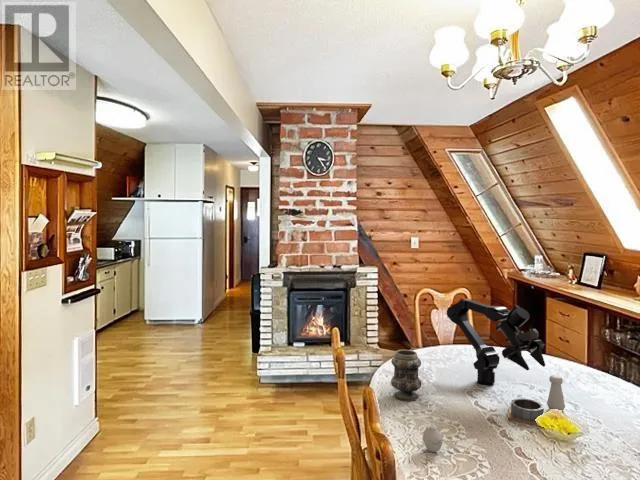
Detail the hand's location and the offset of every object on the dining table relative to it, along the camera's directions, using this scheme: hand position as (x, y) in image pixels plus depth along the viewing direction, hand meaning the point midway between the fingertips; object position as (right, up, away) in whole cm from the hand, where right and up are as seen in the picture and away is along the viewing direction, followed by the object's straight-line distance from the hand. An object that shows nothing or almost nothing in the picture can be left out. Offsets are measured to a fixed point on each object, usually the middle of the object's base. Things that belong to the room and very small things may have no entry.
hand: (536, 368), depth 165 cm
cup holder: (-9, -14, -11) cm, 20 cm away
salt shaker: (+4, -14, -7) cm, 16 cm away
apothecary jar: (-49, -14, +8) cm, 51 cm away
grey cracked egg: (-49, -15, -34) cm, 61 cm away
